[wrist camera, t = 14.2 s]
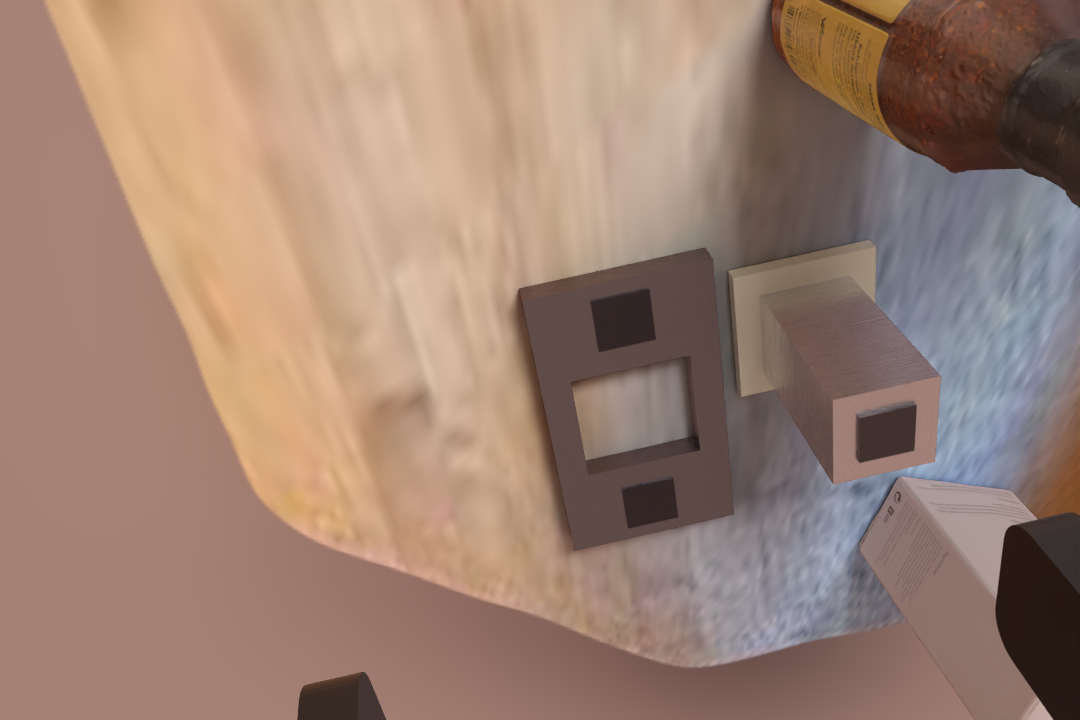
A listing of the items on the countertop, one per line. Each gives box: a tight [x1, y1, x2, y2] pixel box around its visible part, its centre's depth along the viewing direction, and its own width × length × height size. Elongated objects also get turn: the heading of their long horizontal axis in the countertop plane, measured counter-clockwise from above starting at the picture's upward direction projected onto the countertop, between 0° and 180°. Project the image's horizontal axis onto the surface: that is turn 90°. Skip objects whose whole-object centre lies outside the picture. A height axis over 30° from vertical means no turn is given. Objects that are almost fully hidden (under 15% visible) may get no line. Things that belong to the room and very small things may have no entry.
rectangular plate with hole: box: [519, 248, 734, 550], centre depth 49 cm, size 9×16×1 cm, turn 10°
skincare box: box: [859, 476, 1053, 720], centre depth 51 cm, size 8×6×15 cm
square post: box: [760, 276, 941, 484], centre depth 44 cm, size 4×4×9 cm
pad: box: [728, 240, 876, 397], centre depth 48 cm, size 7×7×1 cm
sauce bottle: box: [771, 0, 1080, 207], centre depth 32 cm, size 6×6×20 cm
